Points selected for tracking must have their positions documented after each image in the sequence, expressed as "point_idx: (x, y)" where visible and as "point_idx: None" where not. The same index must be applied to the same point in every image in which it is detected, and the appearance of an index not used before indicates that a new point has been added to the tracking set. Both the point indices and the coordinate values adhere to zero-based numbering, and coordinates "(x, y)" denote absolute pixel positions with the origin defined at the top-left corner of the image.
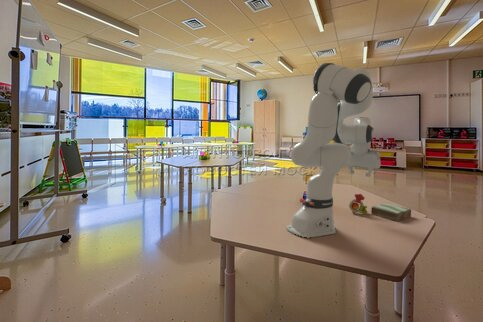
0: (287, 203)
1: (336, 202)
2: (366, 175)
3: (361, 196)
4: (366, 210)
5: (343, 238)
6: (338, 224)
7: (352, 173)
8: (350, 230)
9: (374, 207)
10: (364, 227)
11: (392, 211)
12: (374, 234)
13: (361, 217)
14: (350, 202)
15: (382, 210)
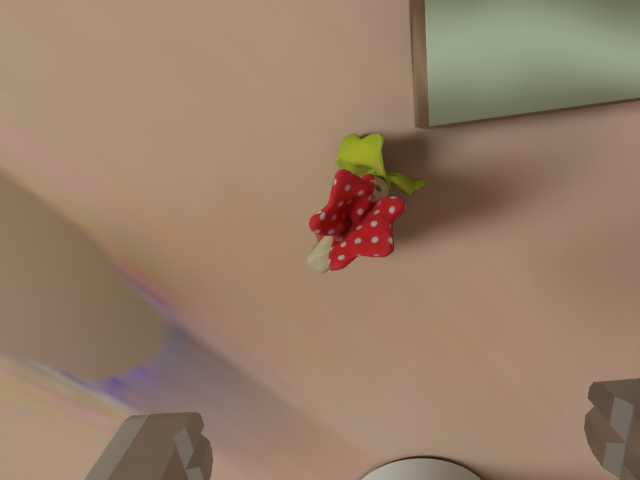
0: (33, 431)
1: (69, 136)
2: (620, 461)
3: (384, 228)
4: (419, 188)
5: None
6: (442, 427)
7: (210, 467)
8: (528, 434)
9: (452, 123)
10: (546, 357)
11: (616, 81)
12: None
13: (429, 248)
14: (321, 272)
15: (527, 114)
